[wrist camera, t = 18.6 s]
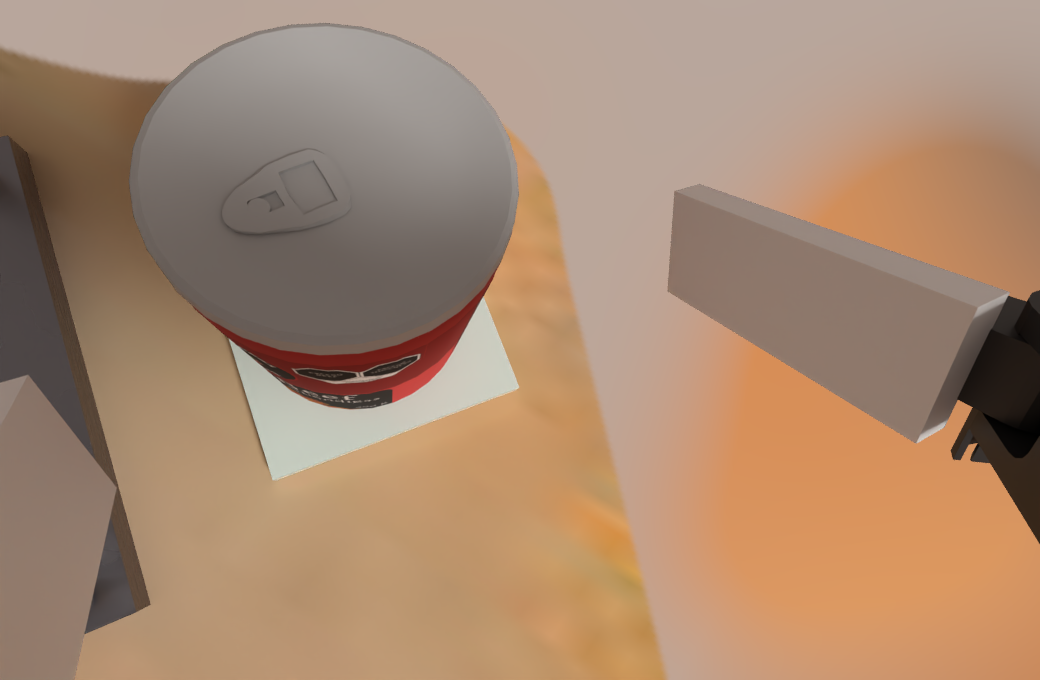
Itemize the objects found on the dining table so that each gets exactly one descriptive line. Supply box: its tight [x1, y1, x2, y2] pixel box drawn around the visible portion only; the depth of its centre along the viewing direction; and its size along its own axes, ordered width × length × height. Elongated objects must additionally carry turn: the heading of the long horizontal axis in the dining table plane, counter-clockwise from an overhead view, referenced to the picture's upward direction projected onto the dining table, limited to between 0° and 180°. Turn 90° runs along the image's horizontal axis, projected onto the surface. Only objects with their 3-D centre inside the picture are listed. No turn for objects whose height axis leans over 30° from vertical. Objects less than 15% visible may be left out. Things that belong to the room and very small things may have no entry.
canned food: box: [129, 23, 519, 410], centre depth 16 cm, size 8×8×11 cm
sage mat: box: [229, 297, 519, 480], centre depth 22 cm, size 10×10×1 cm
